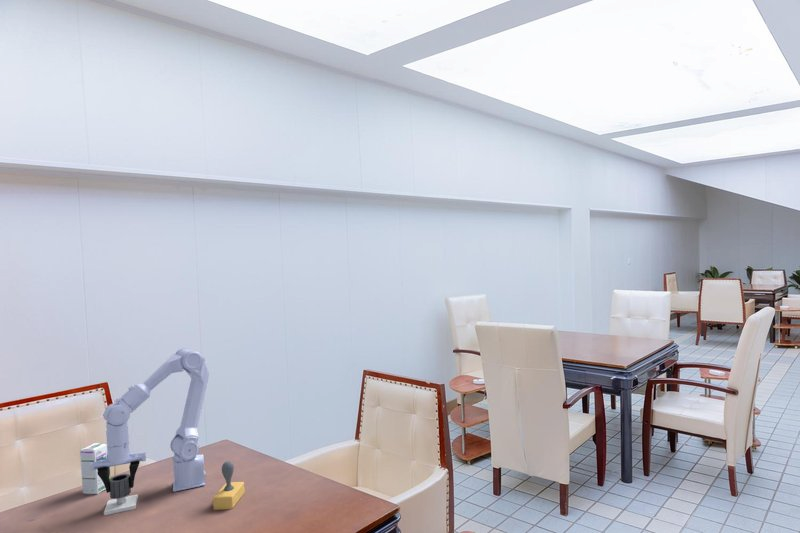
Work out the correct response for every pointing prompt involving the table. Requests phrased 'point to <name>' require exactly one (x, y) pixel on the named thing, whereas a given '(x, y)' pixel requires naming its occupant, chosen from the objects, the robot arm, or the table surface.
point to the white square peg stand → (121, 504)
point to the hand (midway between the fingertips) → (120, 488)
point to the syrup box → (91, 478)
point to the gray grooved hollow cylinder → (119, 486)
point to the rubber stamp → (228, 490)
